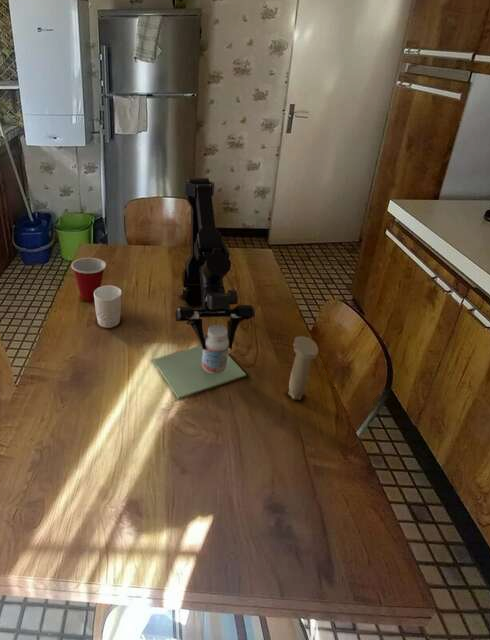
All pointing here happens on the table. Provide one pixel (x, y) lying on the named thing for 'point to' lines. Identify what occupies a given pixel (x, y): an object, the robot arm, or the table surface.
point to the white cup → (108, 305)
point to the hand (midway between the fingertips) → (217, 349)
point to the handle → (301, 365)
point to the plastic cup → (88, 276)
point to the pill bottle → (215, 349)
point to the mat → (194, 372)
